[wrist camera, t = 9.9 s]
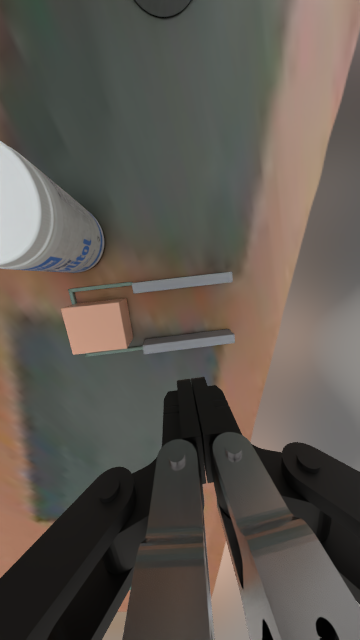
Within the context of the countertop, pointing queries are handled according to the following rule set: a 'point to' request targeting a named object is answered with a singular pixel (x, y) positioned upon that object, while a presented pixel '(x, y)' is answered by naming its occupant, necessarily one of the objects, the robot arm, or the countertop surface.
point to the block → (98, 326)
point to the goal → (72, 294)
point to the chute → (194, 338)
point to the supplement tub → (42, 221)
